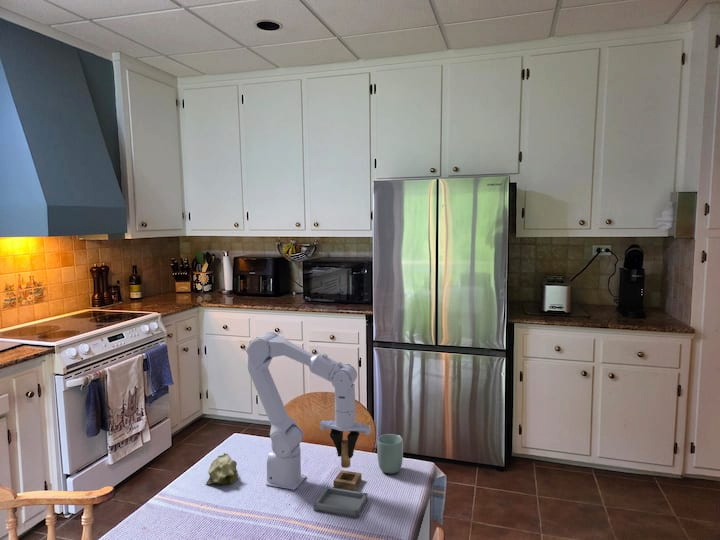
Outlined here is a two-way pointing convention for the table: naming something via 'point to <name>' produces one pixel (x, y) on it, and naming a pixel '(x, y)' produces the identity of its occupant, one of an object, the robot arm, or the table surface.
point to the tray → (341, 502)
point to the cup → (390, 453)
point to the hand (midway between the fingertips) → (345, 455)
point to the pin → (345, 454)
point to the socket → (346, 484)
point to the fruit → (223, 470)
